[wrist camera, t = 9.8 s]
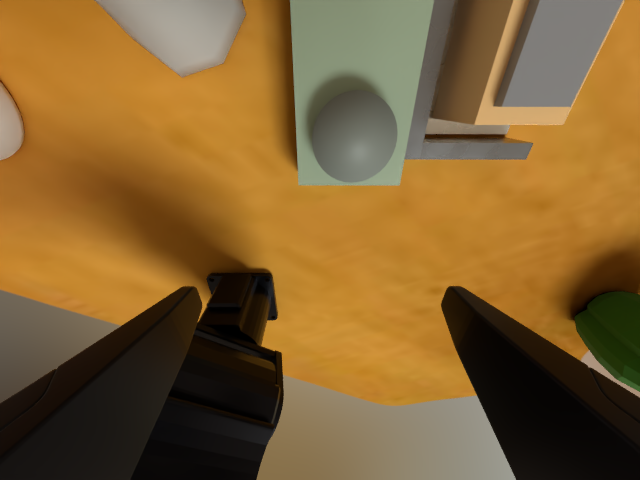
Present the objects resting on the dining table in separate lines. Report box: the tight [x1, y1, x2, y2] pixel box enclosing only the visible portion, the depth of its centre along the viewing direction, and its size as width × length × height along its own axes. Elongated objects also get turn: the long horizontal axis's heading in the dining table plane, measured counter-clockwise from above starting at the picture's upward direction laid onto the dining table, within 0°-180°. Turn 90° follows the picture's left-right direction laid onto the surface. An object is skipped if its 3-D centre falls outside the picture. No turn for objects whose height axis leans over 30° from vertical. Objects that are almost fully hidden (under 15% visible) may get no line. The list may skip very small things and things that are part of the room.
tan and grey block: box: [432, 0, 625, 125], centre depth 12 cm, size 6×4×6 cm
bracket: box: [404, 0, 533, 159], centre depth 13 cm, size 10×8×2 cm
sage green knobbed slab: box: [290, 0, 434, 185], centre depth 13 cm, size 14×7×4 cm, turn 0°
